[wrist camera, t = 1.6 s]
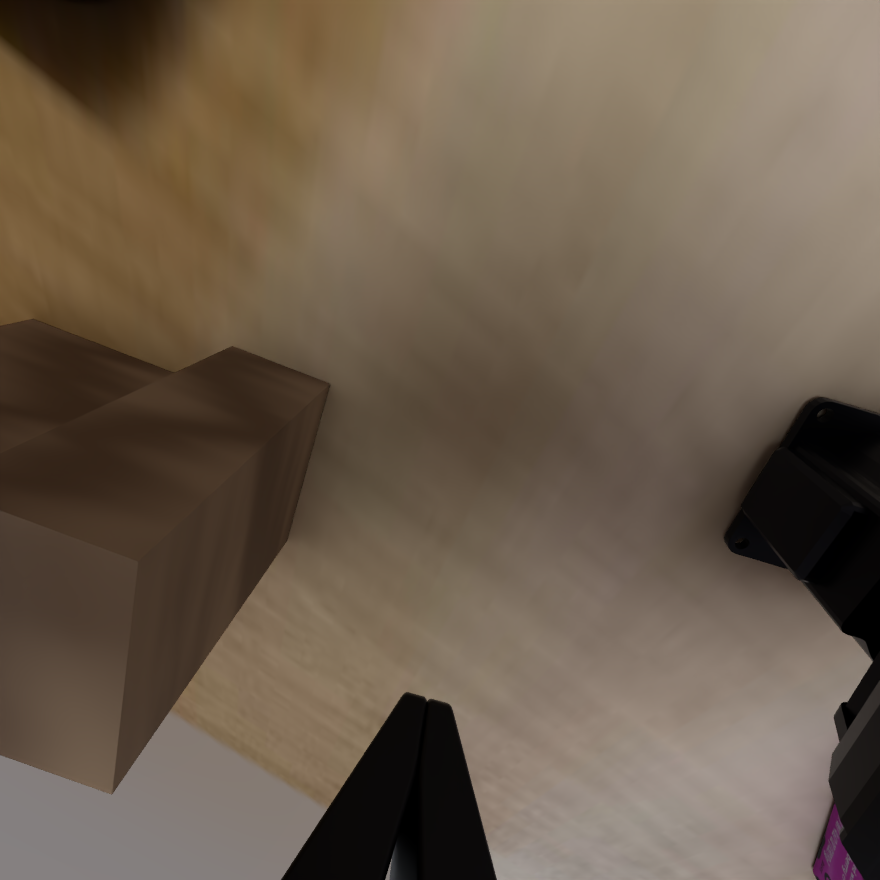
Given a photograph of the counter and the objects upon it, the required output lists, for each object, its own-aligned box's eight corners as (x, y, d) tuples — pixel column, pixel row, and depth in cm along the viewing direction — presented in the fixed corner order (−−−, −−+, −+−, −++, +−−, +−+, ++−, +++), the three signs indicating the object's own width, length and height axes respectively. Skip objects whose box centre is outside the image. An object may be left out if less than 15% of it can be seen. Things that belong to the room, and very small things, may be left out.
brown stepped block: (330, 384, 19) (138, 561, 9) (286, 540, 23) (112, 794, 13) (32, 269, 19) (-498, 326, 9) (33, 446, 22) (-351, 629, 12)
